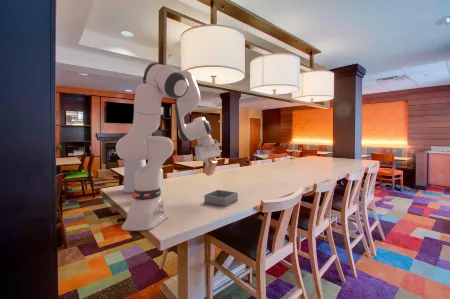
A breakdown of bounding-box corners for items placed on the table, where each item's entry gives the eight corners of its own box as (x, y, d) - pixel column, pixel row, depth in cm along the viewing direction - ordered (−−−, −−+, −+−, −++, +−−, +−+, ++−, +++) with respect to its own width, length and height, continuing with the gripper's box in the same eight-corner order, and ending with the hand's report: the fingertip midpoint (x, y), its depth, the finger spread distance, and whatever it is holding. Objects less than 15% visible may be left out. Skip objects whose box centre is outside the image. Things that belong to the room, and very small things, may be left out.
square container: (202, 171, 141) (208, 158, 138) (207, 170, 145) (212, 157, 142) (208, 175, 140) (213, 162, 136) (212, 174, 143) (218, 161, 140)
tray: (225, 206, 126) (225, 198, 126) (204, 202, 134) (204, 194, 133) (237, 200, 138) (237, 192, 138) (217, 196, 146) (217, 189, 145)
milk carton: (148, 192, 157) (147, 165, 156) (155, 190, 164) (154, 163, 163) (156, 193, 154) (155, 165, 153) (163, 191, 161) (162, 164, 159)
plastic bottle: (149, 187, 173) (148, 150, 171) (145, 192, 158) (143, 152, 156) (128, 188, 171) (126, 150, 169) (122, 193, 156) (120, 152, 154)
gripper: (198, 143, 130) (205, 167, 130) (219, 140, 147) (224, 161, 147) (190, 146, 134) (196, 169, 133) (211, 143, 151) (217, 163, 150)
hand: (211, 165), depth 140 cm, fingers closed on square container, 4 cm apart
